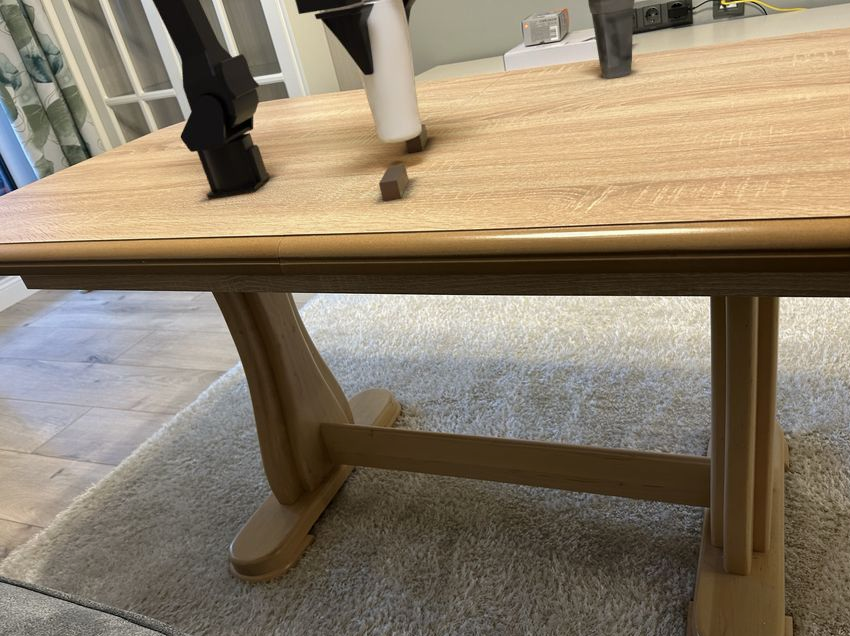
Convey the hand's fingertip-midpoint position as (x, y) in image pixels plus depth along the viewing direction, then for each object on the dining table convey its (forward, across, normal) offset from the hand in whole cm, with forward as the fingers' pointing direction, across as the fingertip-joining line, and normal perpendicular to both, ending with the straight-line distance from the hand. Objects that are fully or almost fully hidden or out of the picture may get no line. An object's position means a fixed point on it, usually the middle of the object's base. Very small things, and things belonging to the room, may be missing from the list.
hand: (385, 67), depth 81 cm
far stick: (+12, +9, +4) cm, 15 cm away
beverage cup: (+12, +43, -13) cm, 47 cm away
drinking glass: (+8, 0, 0) cm, 8 cm away
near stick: (+12, -9, -4) cm, 15 cm away
